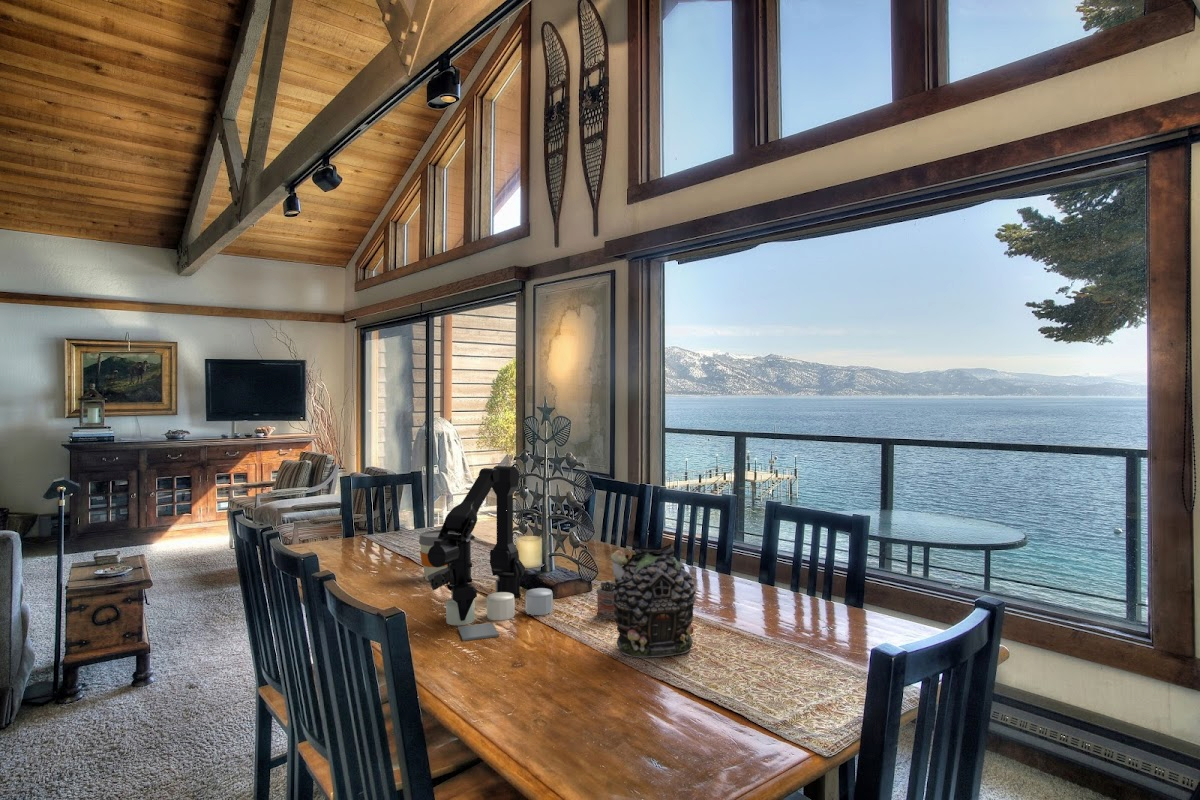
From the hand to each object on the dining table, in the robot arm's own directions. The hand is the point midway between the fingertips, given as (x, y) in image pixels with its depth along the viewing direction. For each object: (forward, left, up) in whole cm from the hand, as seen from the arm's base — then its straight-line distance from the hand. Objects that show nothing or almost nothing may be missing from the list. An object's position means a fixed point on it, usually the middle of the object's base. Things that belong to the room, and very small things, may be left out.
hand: (460, 616), depth 180 cm
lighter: (-39, +12, -2) cm, 41 cm away
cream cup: (-11, 0, -1) cm, 11 cm away
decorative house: (-41, +37, -2) cm, 55 cm away
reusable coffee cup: (+1, -46, -2) cm, 46 cm away
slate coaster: (-3, +11, -1) cm, 11 cm away
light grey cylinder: (-22, 0, -1) cm, 22 cm away
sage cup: (0, 0, -1) cm, 1 cm away
